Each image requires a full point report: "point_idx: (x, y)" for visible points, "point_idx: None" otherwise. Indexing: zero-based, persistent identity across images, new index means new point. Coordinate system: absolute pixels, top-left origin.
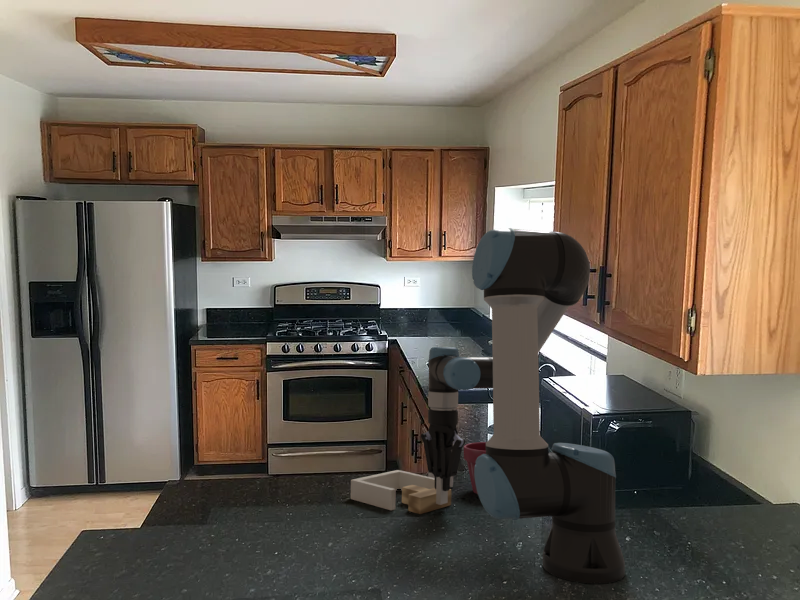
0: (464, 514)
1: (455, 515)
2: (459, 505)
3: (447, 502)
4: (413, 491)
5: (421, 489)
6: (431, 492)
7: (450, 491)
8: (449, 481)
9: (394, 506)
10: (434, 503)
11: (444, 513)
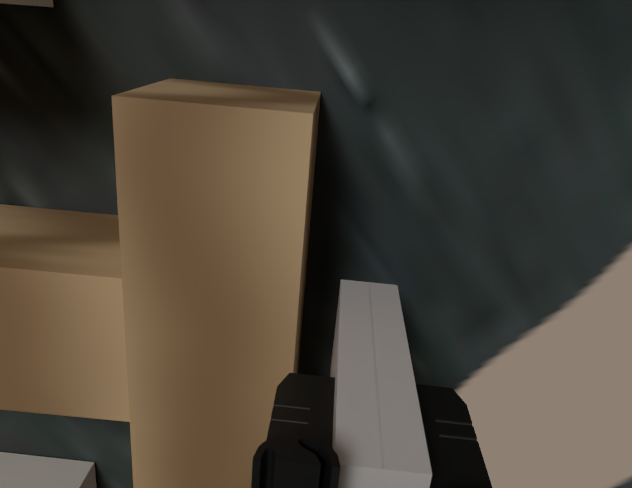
0: (573, 269)
1: (521, 334)
2: (395, 49)
3: (396, 286)
4: (58, 406)
5: (77, 344)
6: (229, 369)
7: (313, 130)
8: (486, 480)
9: (85, 485)
10: (298, 341)
11: (421, 342)
